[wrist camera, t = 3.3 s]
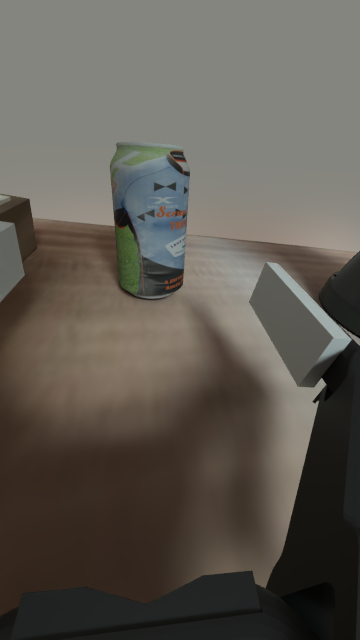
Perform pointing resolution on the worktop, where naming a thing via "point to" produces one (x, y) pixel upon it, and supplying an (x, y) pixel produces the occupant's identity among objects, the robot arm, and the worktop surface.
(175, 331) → the worktop surface
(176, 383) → the worktop surface
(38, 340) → the worktop surface
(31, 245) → the riser
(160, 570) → the worktop surface
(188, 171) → the beverage can
